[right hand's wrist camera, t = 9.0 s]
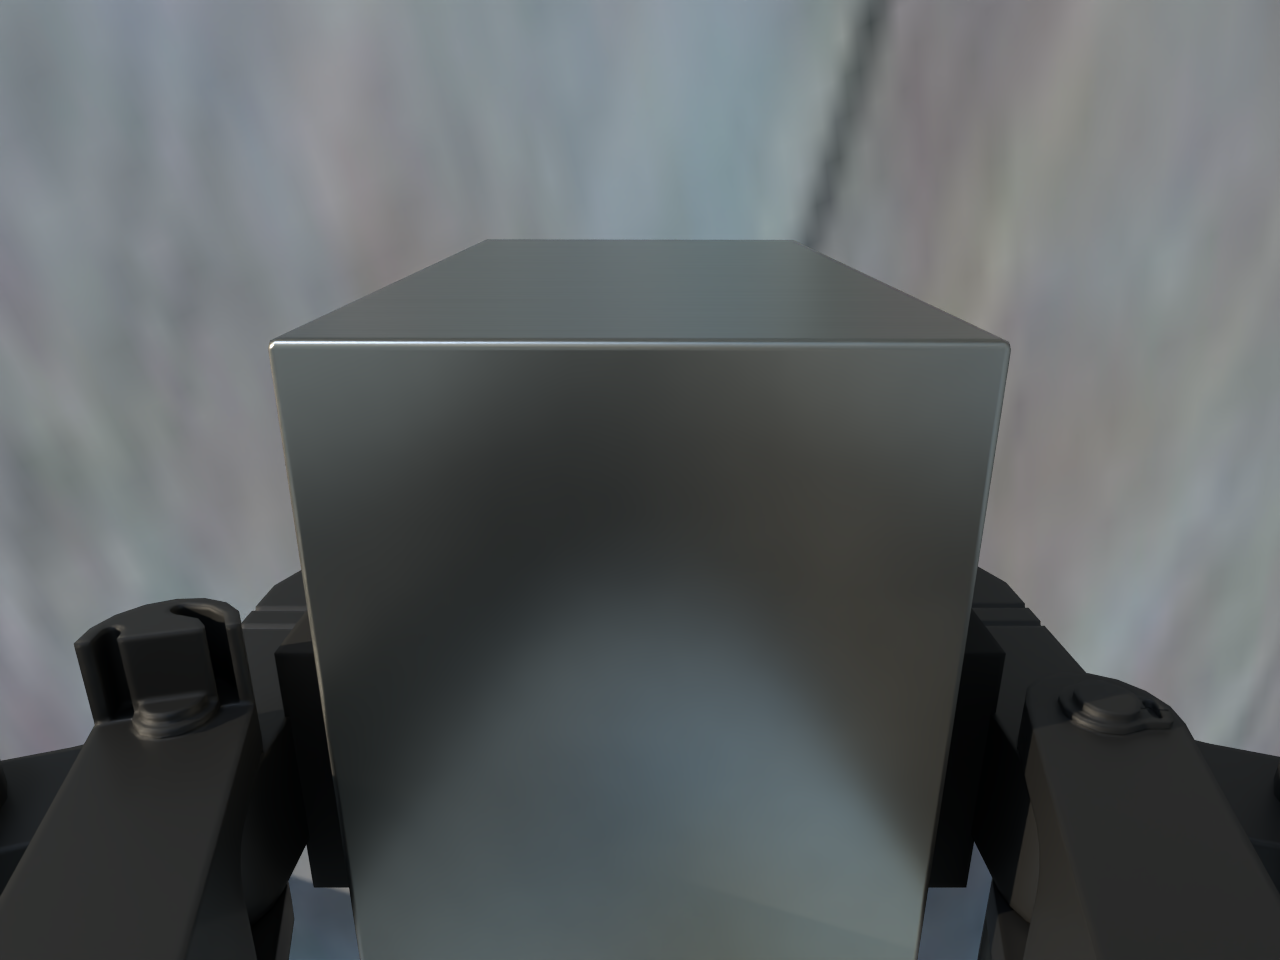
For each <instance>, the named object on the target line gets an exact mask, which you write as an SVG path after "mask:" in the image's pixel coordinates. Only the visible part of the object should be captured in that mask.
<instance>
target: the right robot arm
mask: <svg viewBox="0 0 1280 960" xmlns="http://www.w3.org/2000/svg"><path fill="white" fill-rule="evenodd" d="M74 647H75V651H76V654H77V658H78V662H79V666H80V670H81V674H82V677H83V681H84V685H85V689H86V693H87V696H88V700H89V704H90V708H91V712H92V716H93V719H94V723H95V725H94V727H93V729H92V731H91V733H90V735H89V736H88V738H87V740H86V742H85V744H84V745H80V746H76V747H72V748H66V749H61V750H56V751H50V752H45V753H40V754H35V755H29V756H24V757H19V758H13V759H8V760H3V761H0V960H289V953H290V946H291V939H292V932H293V925H294V913H293V906H292V899H291V893H290V888H289V882H288V880H289V878H290V876H291V874H292V872H293V870H294V868H295V866H296V864H297V862H298V860H299V858H300V856H301V854H302V852H303V850H304V848H305V846H306V844H307V850H308V856H309V862H310V868H311V874H312V880H313V886H314V887H349V883H348V876H347V870H346V863H345V856H344V850H343V843H342V836H341V830H340V823H339V816H338V810H337V803H336V796H335V790H334V783H333V776H332V770H331V763H330V756H329V750H328V743H327V736H326V730H325V723H324V717H323V710H322V703H321V697H320V690H319V683H318V677H317V670H316V663H315V657H314V650H313V643H312V637H311V630H310V623H309V617H308V610H307V603H306V597H305V590H304V583H303V577H302V570H301V571H299V572H297V573H295V574H294V575H292V576H290V577H288V578H287V579H285V580H283V581H281V582H280V583H278V584H276V585H274V587H273V588H272V589H271V590H270V591H269V592H268V593H267V595H266V596H265V597H264V598H263V599H262V600H261V601H260V602H259V604H258V605H257V606H256V611H252V612H251V613H250V614H249V615H248V616H247V617H246V618H245V620H244V621H243V622H242V623H241V620H240V614H239V611H238V610H236V609H235V608H234V607H232V606H231V605H229V604H228V603H227V602H222V601H217V600H211V599H206V598H194V599H174V600H169V601H163V602H158V603H153V604H147V605H144V606H141V607H138V608H135V609H132V610H129V611H126V612H123V613H120V614H117V615H114V616H113V617H111V618H109V619H107V620H105V621H103V622H101V623H99V624H98V625H96V626H94V627H92V628H90V629H89V630H88V631H87V632H86V633H85V634H84V635H83V636H81V637H80V638H79V639H78V640H77V641H76V642H75V643H74ZM974 842H975V844H976V846H977V848H978V850H979V852H980V854H981V856H982V858H983V860H984V862H985V864H986V866H987V868H988V870H989V872H990V874H991V876H992V882H991V888H990V893H989V899H988V904H987V910H986V915H985V921H984V926H983V932H982V937H981V943H980V948H979V954H978V959H977V960H1280V757H1278V756H1272V755H1267V754H1262V753H1256V752H1251V751H1246V750H1240V749H1235V748H1230V747H1224V746H1219V745H1214V744H1209V743H1205V742H1201V741H1196V740H1194V738H1193V737H1192V735H1191V733H1190V731H1189V729H1188V728H1187V726H1186V724H1185V723H1184V722H1183V720H1182V719H1181V718H1180V717H1179V716H1178V715H1177V714H1176V713H1175V711H1174V710H1173V709H1172V708H1171V707H1170V706H1169V705H1167V704H1165V703H1164V702H1162V701H1161V700H1159V699H1158V698H1156V697H1155V696H1153V695H1151V694H1150V693H1148V692H1147V691H1144V690H1142V689H1139V688H1137V687H1134V686H1132V685H1129V684H1127V683H1124V682H1122V681H1119V680H1117V679H1112V678H1107V677H1103V676H1098V675H1094V674H1089V673H1086V672H1085V671H1084V670H1083V669H1082V668H1081V667H1080V665H1079V664H1078V663H1077V662H1076V661H1075V660H1074V659H1073V658H1072V656H1071V655H1070V654H1069V653H1068V652H1067V651H1066V650H1065V648H1064V647H1063V646H1062V645H1061V644H1060V643H1059V642H1058V641H1057V639H1056V638H1055V637H1054V636H1053V635H1052V634H1051V633H1050V632H1049V630H1048V629H1047V628H1046V627H1045V626H1041V625H1040V620H1039V619H1038V618H1037V617H1036V616H1035V615H1034V614H1033V612H1032V611H1031V610H1030V609H1029V608H1025V603H1024V602H1023V601H1022V600H1021V599H1020V598H1019V597H1018V595H1017V594H1016V593H1015V592H1014V591H1013V590H1012V589H1011V588H1010V586H1009V585H1008V584H1007V583H1006V582H1004V581H1002V580H1001V579H999V578H997V577H995V576H994V575H992V574H990V573H988V572H987V571H985V570H983V569H981V568H979V567H977V574H976V580H975V587H974V593H973V600H972V606H971V613H970V619H969V626H968V632H967V639H966V645H965V652H964V658H963V665H962V671H961V678H960V684H959V691H958V697H957V704H956V711H955V717H954V724H953V730H952V737H951V743H950V750H949V756H948V763H947V769H946V776H945V782H944V789H943V795H942V802H941V808H940V815H939V821H938V828H937V834H936V841H935V847H934V854H933V860H932V867H931V873H930V880H929V886H928V887H966V885H967V880H968V874H969V868H970V862H971V856H972V850H973V844H974Z"/></svg>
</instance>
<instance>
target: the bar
mask: <svg viewBox="0 0 1280 960" xmlns="http://www.w3.org/2000/svg"><path fill="white" fill-rule="evenodd" d="M268 350H269V357H270V364H271V370H272V377H273V384H274V390H275V397H276V404H277V410H278V417H279V424H280V430H281V437H282V444H283V450H284V457H285V464H286V470H287V477H288V484H289V490H290V497H291V504H292V510H293V517H294V523H295V530H296V537H297V543H298V550H299V557H300V563H301V570H302V577H303V583H304V590H305V597H306V603H307V610H308V617H309V623H310V630H311V637H312V643H313V650H314V657H315V663H316V670H317V677H318V683H319V690H320V697H321V703H322V710H323V717H324V723H325V730H326V736H327V743H328V750H329V756H330V763H331V770H332V776H333V783H334V790H335V796H336V803H337V810H338V816H339V823H340V830H341V836H342V843H343V850H344V856H345V863H346V870H347V876H348V883H349V890H350V896H351V903H352V910H353V916H354V923H355V930H356V936H357V943H358V949H359V956H360V960H917V958H918V952H919V945H920V939H921V932H922V926H923V919H924V912H925V906H926V899H927V893H928V886H929V880H930V873H931V867H932V860H933V854H934V847H935V841H936V834H937V828H938V821H939V815H940V808H941V802H942V795H943V789H944V782H945V776H946V769H947V763H948V756H949V750H950V743H951V737H952V730H953V724H954V717H955V711H956V704H957V697H958V691H959V684H960V678H961V671H962V665H963V658H964V652H965V645H966V639H967V632H968V626H969V619H970V613H971V606H972V600H973V593H974V587H975V580H976V574H977V567H978V561H979V554H980V548H981V541H982V535H983V528H984V522H985V515H986V509H987V502H988V496H989V489H990V482H991V476H992V469H993V463H994V456H995V450H996V443H997V437H998V430H999V424H1000V417H1001V411H1002V404H1003V398H1004V391H1005V385H1006V378H1007V372H1008V365H1009V359H1010V352H1011V348H1010V344H1009V342H1008V341H1006V340H1004V339H1002V338H1000V337H997V336H995V335H993V334H991V333H989V332H987V331H985V330H983V329H980V328H978V327H976V326H974V325H972V324H970V323H968V322H966V321H964V320H961V319H959V318H957V317H955V316H953V315H951V314H949V313H947V312H944V311H942V310H940V309H938V308H936V307H934V306H932V305H930V304H927V303H925V302H923V301H921V300H919V299H917V298H915V297H913V296H911V295H908V294H906V293H904V292H902V291H900V290H898V289H896V288H894V287H891V286H889V285H887V284H885V283H883V282H881V281H879V280H877V279H875V278H872V277H870V276H868V275H866V274H864V273H862V272H860V271H858V270H855V269H853V268H851V267H849V266H847V265H845V264H843V263H841V262H838V261H836V260H834V259H832V258H830V257H828V256H826V255H824V254H822V253H819V252H817V251H815V250H813V249H811V248H809V247H807V246H805V245H802V244H800V243H798V242H796V241H794V240H496V239H487V240H485V241H483V242H480V243H478V244H476V245H474V246H472V247H470V248H468V249H465V250H463V251H461V252H459V253H457V254H455V255H453V256H450V257H448V258H446V259H444V260H442V261H440V262H438V263H435V264H433V265H431V266H429V267H427V268H425V269H423V270H420V271H418V272H416V273H414V274H412V275H410V276H408V277H405V278H403V279H401V280H399V281H397V282H395V283H393V284H390V285H388V286H386V287H384V288H382V289H380V290H378V291H375V292H373V293H371V294H369V295H367V296H365V297H363V298H360V299H358V300H356V301H354V302H352V303H350V304H348V305H345V306H343V307H341V308H339V309H337V310H335V311H333V312H330V313H328V314H326V315H324V316H322V317H320V318H318V319H315V320H313V321H311V322H309V323H307V324H305V325H303V326H300V327H298V328H296V329H294V330H292V331H290V332H288V333H285V334H283V335H281V336H279V337H277V338H275V339H272V340H270V343H269V347H268Z"/></svg>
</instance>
